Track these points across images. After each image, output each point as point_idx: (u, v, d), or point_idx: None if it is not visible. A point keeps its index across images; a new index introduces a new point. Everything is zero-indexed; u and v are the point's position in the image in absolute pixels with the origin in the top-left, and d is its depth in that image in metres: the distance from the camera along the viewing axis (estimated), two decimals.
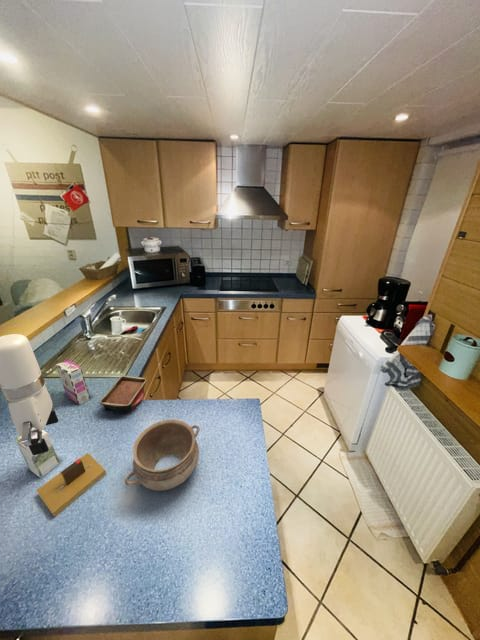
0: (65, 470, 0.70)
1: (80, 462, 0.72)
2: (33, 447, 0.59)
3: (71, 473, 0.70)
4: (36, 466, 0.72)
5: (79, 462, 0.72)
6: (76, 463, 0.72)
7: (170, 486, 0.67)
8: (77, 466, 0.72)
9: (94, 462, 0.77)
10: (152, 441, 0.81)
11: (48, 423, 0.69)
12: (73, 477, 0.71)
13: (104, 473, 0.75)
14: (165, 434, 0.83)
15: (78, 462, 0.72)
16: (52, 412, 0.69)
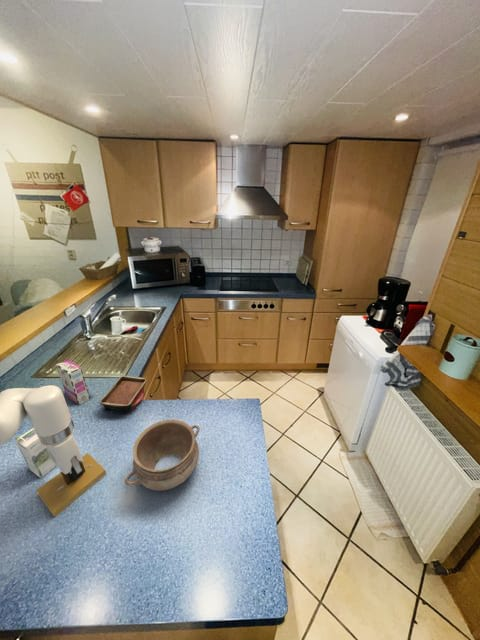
0: None
1: None
2: (74, 473, 0.70)
3: None
4: (36, 466, 0.72)
5: (79, 462, 0.72)
6: None
7: (170, 486, 0.67)
8: None
9: (94, 462, 0.77)
10: (152, 441, 0.81)
11: None
12: None
13: (104, 473, 0.75)
14: (165, 434, 0.83)
15: None
16: None
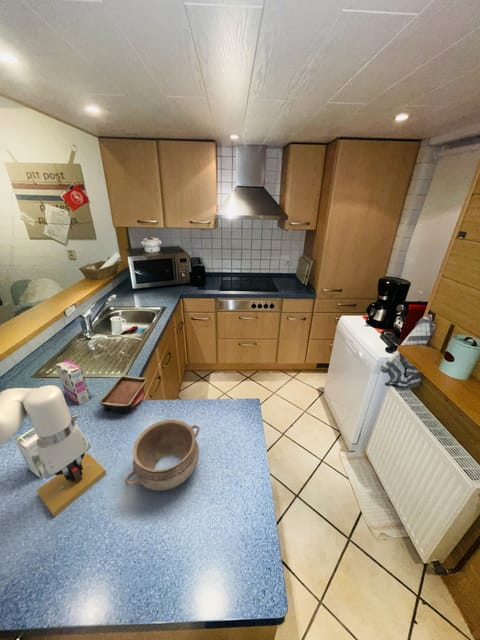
0: None
1: (72, 472, 0.69)
2: None
3: None
4: (36, 466, 0.72)
5: (72, 471, 0.69)
6: (73, 469, 0.70)
7: (170, 486, 0.67)
8: None
9: (94, 462, 0.77)
10: (152, 441, 0.81)
11: None
12: None
13: (104, 473, 0.75)
14: (165, 434, 0.83)
15: (72, 470, 0.69)
16: (76, 466, 0.71)
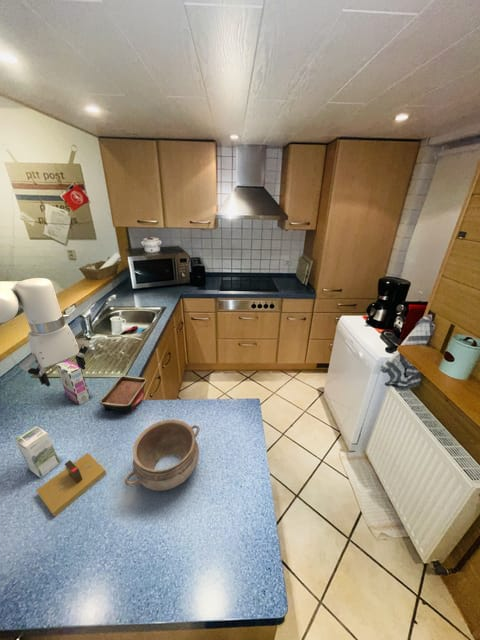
0: (69, 463, 0.72)
1: (72, 472, 0.69)
2: (38, 376, 0.69)
3: (68, 470, 0.71)
4: (36, 466, 0.72)
5: (72, 471, 0.69)
6: (73, 469, 0.70)
7: (170, 486, 0.67)
8: (71, 472, 0.70)
9: (94, 462, 0.77)
10: (152, 441, 0.81)
11: (79, 366, 0.78)
12: (70, 475, 0.72)
13: (104, 473, 0.75)
14: (165, 434, 0.83)
15: (72, 470, 0.69)
16: (80, 359, 0.76)
